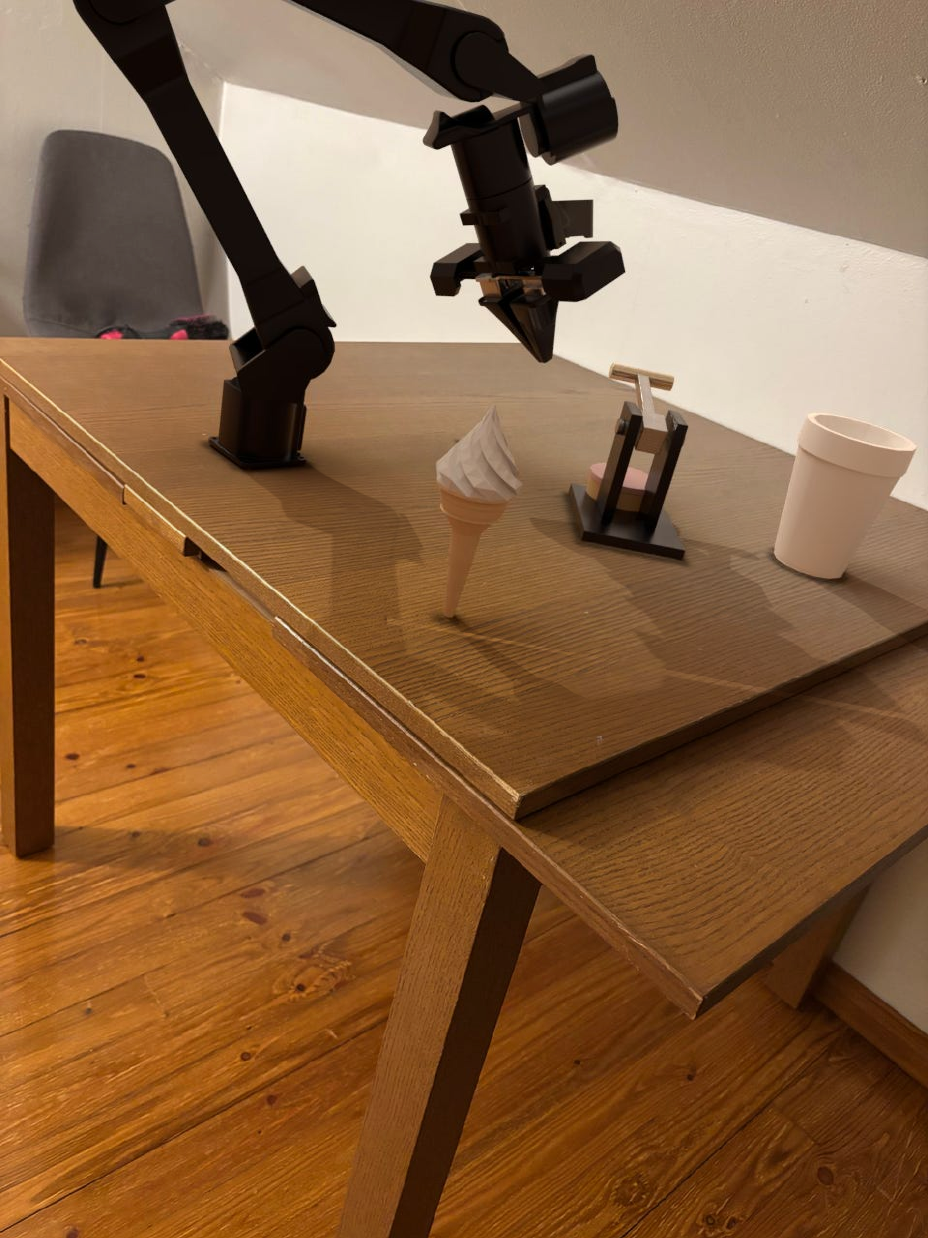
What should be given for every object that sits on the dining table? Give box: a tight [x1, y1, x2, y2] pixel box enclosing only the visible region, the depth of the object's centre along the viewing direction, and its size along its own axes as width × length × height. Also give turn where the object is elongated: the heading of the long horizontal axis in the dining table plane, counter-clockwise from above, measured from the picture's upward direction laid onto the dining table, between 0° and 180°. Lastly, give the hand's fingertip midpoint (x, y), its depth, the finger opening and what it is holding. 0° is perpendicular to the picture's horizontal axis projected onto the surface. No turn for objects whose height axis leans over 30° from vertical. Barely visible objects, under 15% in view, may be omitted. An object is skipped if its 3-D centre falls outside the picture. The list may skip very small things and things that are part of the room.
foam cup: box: [773, 412, 918, 580], centre depth 88 cm, size 10×9×13 cm
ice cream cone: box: [435, 403, 523, 619], centre depth 63 cm, size 6×6×15 cm
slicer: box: [568, 400, 689, 561], centre depth 87 cm, size 12×9×11 cm
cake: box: [585, 462, 649, 511], centre depth 93 cm, size 7×7×3 cm
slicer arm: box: [608, 362, 675, 455], centre depth 89 cm, size 12×6×2 cm, turn 0°
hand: (545, 360), depth 90 cm, fingers closed
